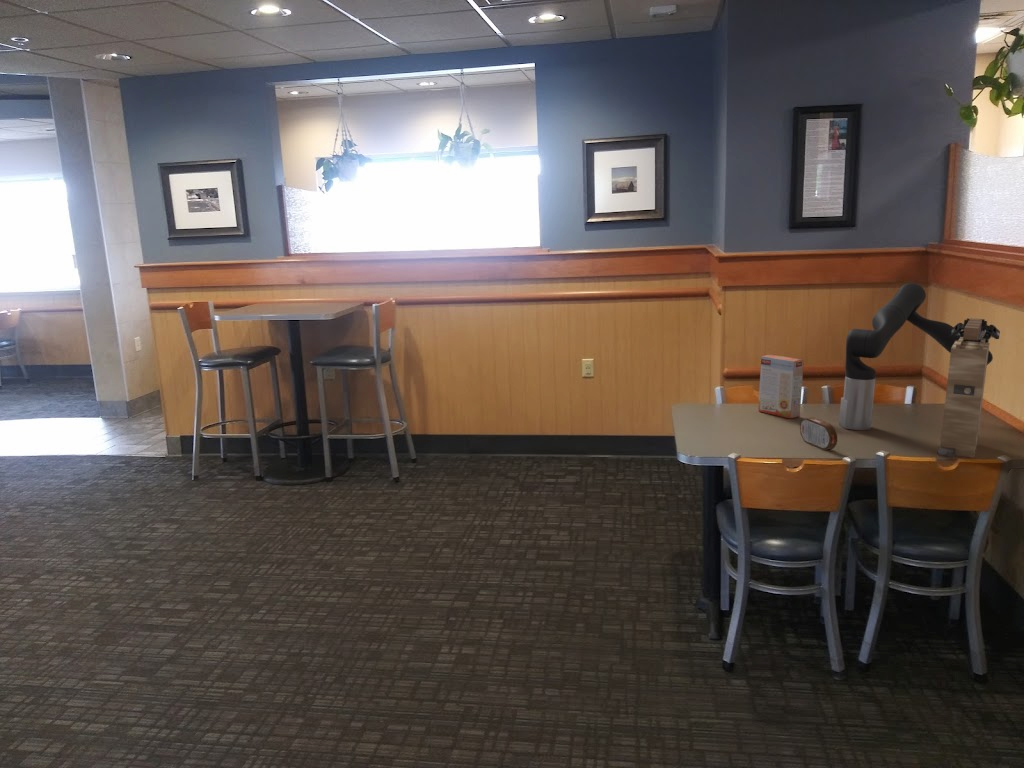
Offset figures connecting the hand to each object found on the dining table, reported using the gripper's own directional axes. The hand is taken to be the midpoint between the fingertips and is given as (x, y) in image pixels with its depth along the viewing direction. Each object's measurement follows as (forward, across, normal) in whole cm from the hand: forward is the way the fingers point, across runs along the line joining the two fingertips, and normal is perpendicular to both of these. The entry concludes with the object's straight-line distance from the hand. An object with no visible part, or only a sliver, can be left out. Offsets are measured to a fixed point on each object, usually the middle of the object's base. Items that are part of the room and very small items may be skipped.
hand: (975, 321), depth 239 cm
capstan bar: (+4, 0, +6) cm, 7 cm away
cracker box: (-21, -58, +32) cm, 69 cm away
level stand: (-6, 0, +40) cm, 40 cm away
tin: (+8, -37, +49) cm, 62 cm away
